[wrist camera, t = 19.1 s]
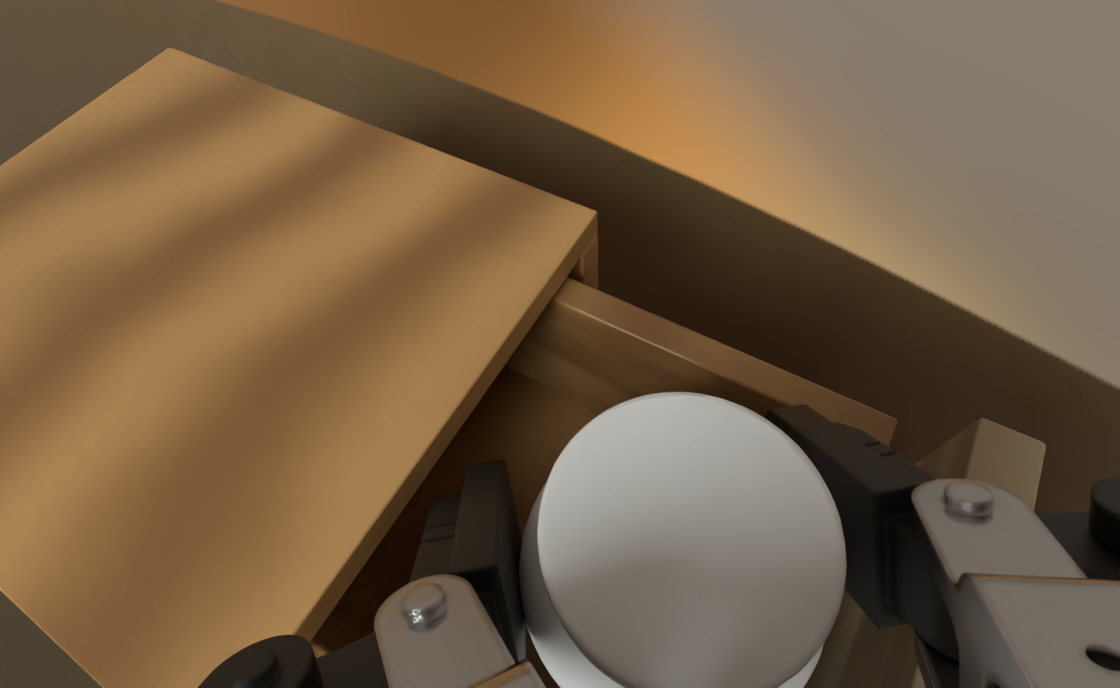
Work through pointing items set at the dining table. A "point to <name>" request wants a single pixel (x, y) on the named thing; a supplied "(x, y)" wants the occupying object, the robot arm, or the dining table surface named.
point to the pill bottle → (682, 551)
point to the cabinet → (239, 357)
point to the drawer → (629, 372)
